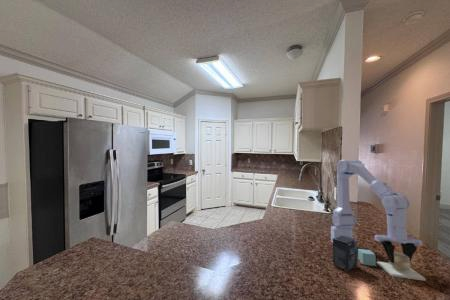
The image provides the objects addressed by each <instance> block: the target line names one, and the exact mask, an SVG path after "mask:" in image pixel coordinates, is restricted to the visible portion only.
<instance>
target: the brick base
mask: <svg viewBox="0 0 450 300" xmlns="http://www.w3.org/2000/svg"><path fill="white" fill-rule="evenodd" d="M388 263H389V264H391V265H392V266H393V267H395V268H396V269H403V270H410V268H411V261H410V258H409V257H408V256H406V255H405V254H403V252H399V251H394V263H391V262H390V261H389V260H388Z"/></svg>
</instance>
